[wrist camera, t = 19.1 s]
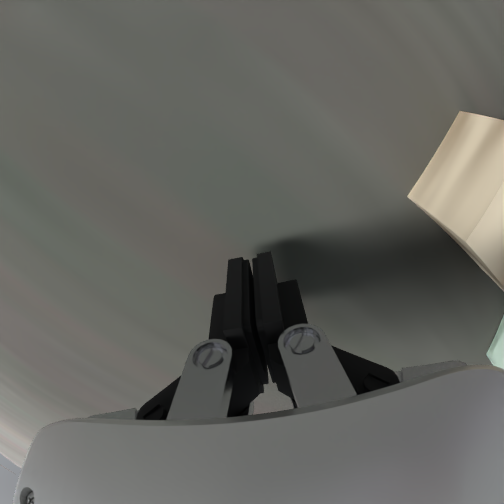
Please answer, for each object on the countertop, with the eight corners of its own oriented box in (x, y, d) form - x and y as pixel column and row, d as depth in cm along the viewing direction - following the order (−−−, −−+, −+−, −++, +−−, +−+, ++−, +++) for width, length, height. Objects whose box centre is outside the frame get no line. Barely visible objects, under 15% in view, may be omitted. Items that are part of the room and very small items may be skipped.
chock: (405, 195, 11) (465, 241, 7) (457, 110, 9) (529, 127, 5) (479, 267, 13) (522, 312, 10) (521, 203, 11) (570, 237, 7)
